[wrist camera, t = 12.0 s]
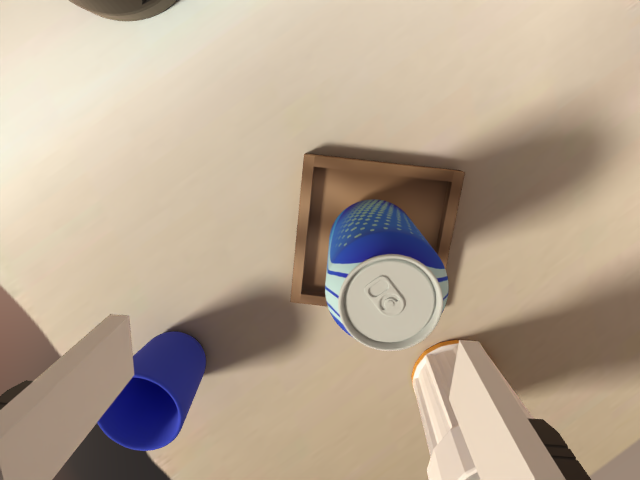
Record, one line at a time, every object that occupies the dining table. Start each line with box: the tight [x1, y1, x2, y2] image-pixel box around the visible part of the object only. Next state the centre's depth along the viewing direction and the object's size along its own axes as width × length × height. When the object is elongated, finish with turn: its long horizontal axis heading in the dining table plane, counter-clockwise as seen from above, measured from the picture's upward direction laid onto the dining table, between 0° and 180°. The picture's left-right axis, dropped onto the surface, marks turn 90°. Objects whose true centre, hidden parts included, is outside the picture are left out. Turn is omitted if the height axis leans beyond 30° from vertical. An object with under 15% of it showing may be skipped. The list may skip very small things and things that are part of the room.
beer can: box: [325, 199, 449, 351], centre depth 33 cm, size 8×8×16 cm
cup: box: [411, 340, 534, 480], centre depth 37 cm, size 11×11×17 cm
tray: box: [290, 153, 465, 306], centre depth 41 cm, size 15×15×2 cm
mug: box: [97, 331, 206, 451], centre depth 42 cm, size 8×12×10 cm
